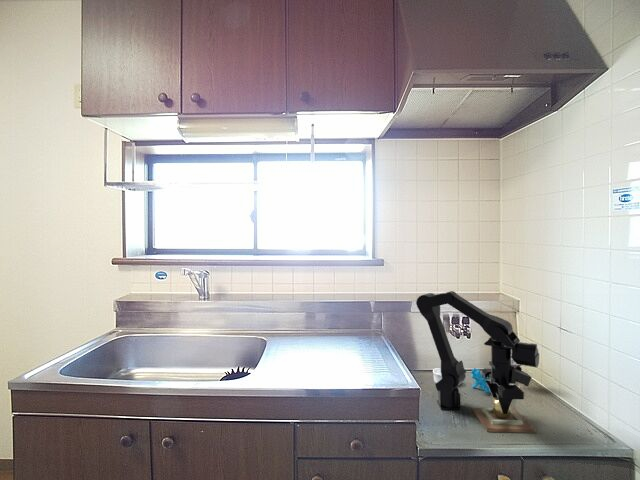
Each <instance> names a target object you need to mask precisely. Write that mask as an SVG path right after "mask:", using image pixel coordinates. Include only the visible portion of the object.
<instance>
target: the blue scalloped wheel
mask: <svg viewBox="0 0 640 480" xmlns="http://www.w3.org/2000/svg"><path fill="white" fill-rule="evenodd" d="M470 374H471V378H472V379H474V380H473V382H474V384H473V385H471V388H472V389H475V388H477V387H478V388H479V389H480V390H483V389H484V390H483V392H484V393H485V394H487V393H488V394H491V392H490V390H489V388H488V386H487V384H486V382H485V381H488V377H487V379H484V378H483V377H482V370H481V369H479V368H476V367H474V368H472V370H471V371H470Z"/></svg>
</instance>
